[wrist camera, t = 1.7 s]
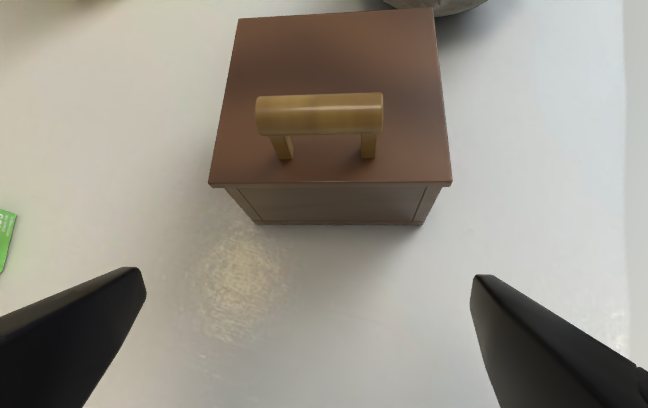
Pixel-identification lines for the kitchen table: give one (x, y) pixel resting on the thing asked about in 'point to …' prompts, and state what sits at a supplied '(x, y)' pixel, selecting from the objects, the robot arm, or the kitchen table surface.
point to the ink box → (5, 234)
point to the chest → (337, 205)
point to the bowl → (437, 5)
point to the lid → (334, 103)
